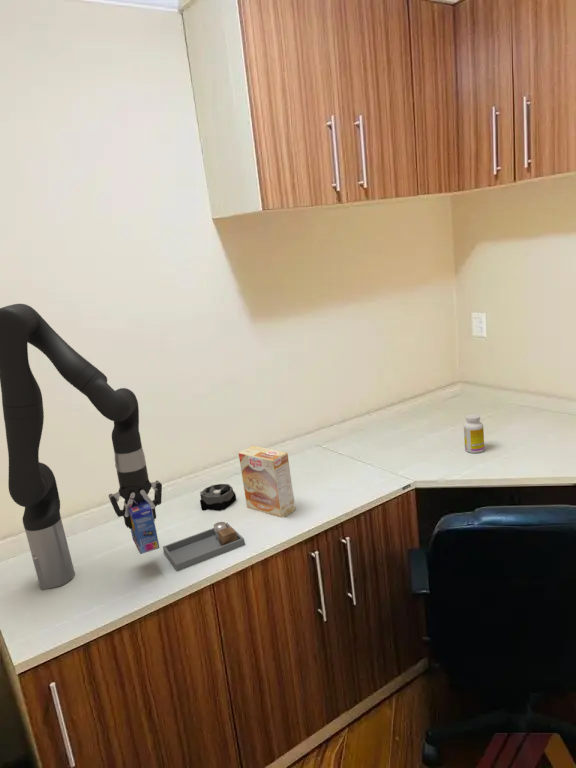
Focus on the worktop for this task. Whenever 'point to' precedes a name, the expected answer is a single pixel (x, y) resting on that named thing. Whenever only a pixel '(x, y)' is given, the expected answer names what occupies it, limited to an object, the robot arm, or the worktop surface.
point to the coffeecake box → (267, 481)
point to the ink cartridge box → (143, 527)
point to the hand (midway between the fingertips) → (141, 523)
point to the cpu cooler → (217, 497)
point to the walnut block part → (226, 536)
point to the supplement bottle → (473, 434)
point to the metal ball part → (219, 528)
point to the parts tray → (198, 548)
